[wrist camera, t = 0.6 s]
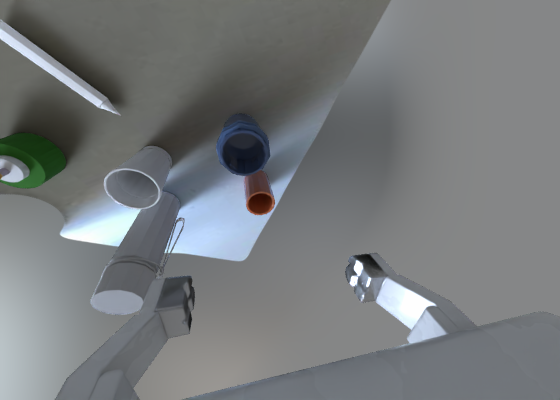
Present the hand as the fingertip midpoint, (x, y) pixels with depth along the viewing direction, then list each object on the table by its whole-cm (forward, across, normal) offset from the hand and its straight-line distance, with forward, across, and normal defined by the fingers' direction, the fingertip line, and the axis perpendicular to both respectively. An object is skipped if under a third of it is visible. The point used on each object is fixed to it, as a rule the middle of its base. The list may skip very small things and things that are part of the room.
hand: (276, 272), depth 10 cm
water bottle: (+41, +17, +17) cm, 48 cm away
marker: (+38, +27, -8) cm, 47 cm away
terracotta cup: (+39, -4, +12) cm, 41 cm away
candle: (+40, +38, +5) cm, 55 cm away
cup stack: (+38, 0, 0) cm, 38 cm away
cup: (+40, +18, +6) cm, 44 cm away
